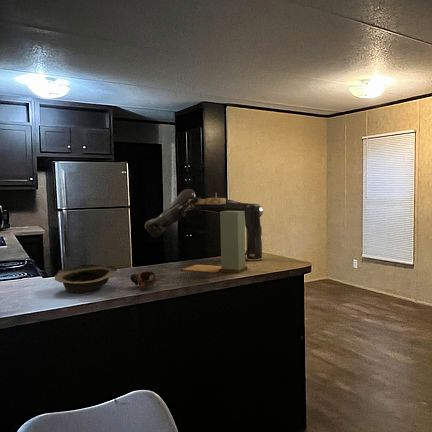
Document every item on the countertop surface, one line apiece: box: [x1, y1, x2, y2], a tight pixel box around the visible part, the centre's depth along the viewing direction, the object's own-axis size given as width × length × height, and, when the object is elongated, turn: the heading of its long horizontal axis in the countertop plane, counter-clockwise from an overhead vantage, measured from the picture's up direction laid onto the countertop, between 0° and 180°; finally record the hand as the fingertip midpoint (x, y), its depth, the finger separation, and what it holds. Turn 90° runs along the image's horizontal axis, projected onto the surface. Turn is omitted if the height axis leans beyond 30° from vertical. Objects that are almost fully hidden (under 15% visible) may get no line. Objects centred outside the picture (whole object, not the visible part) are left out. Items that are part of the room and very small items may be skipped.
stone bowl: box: [54, 263, 117, 294], centre depth 193 cm, size 25×25×9 cm
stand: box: [218, 211, 249, 274], centre depth 230 cm, size 11×11×31 cm
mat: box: [181, 264, 221, 274], centre depth 236 cm, size 20×14×1 cm
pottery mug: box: [129, 270, 158, 291], centre depth 195 cm, size 12×10×8 cm
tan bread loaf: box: [189, 192, 227, 204], centre depth 233 cm, size 20×6×6 cm, turn 70°
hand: (198, 198), depth 235 cm, fingers closed on tan bread loaf, 2 cm apart
